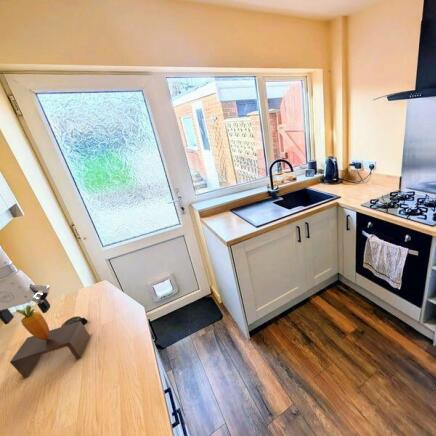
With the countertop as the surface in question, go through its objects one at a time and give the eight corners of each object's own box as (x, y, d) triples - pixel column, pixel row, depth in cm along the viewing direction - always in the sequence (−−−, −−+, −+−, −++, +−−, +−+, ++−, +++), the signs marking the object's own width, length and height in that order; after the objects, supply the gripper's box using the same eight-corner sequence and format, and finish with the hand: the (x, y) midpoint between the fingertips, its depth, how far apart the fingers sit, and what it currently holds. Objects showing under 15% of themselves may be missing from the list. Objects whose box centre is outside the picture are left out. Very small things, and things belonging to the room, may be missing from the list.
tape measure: (71, 337, 94) (66, 331, 93) (60, 333, 97) (56, 326, 95) (89, 323, 100) (85, 317, 98) (79, 320, 102) (75, 313, 101)
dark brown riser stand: (23, 377, 81) (9, 362, 77) (39, 352, 89) (27, 337, 86) (80, 357, 86) (69, 342, 82) (90, 335, 94) (80, 320, 91)
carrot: (34, 345, 83) (8, 312, 76) (50, 332, 87) (26, 300, 81) (44, 347, 81) (19, 314, 75) (60, 334, 86) (37, 302, 79)
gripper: (-54, 290, 66) (-14, 334, 73) (26, 270, 71) (55, 313, 79) (-33, 274, 73) (2, 316, 80) (39, 257, 78) (65, 298, 85)
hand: (28, 315), depth 79 cm, fingers open, 9 cm apart
